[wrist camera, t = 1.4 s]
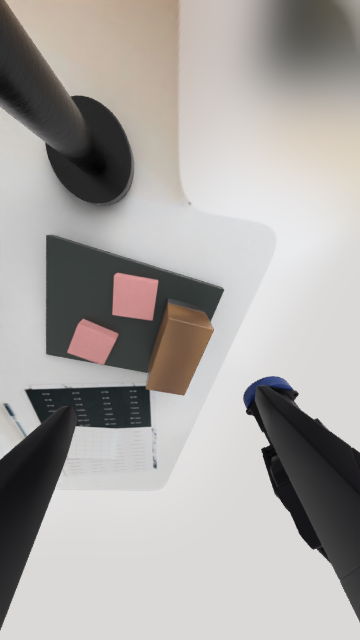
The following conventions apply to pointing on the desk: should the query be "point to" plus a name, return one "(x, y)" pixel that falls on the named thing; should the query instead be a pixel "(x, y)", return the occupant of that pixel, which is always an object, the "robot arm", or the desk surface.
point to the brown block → (178, 347)
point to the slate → (109, 300)
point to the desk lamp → (63, 120)
